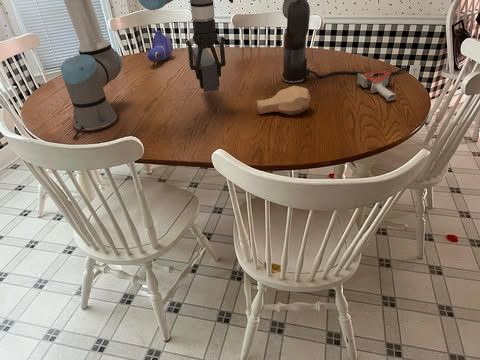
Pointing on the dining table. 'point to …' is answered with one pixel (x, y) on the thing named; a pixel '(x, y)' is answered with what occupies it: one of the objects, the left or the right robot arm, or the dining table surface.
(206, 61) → the bar
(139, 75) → the dining table surface
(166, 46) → the toy
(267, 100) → the squash
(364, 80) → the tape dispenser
